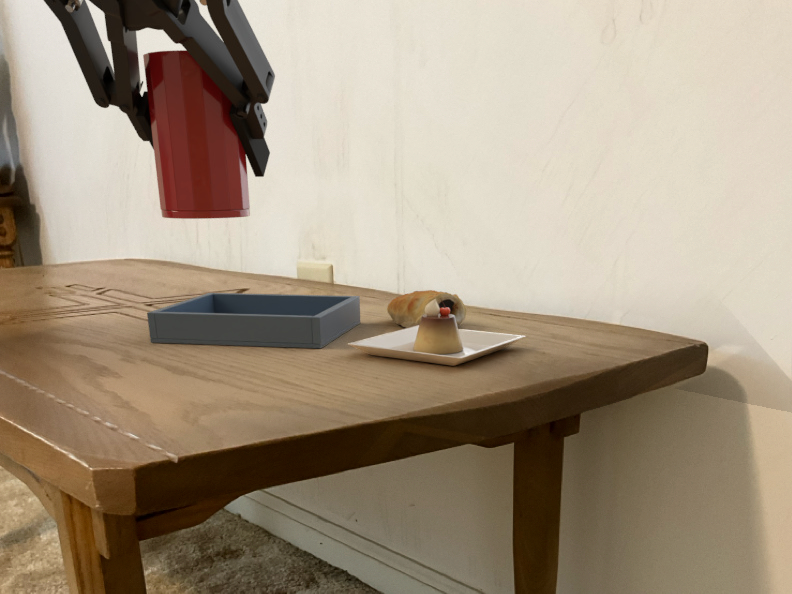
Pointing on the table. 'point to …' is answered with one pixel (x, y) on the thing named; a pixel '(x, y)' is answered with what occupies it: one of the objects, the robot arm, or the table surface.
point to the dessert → (436, 340)
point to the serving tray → (255, 320)
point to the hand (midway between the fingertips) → (218, 164)
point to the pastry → (423, 306)
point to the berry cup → (194, 141)
